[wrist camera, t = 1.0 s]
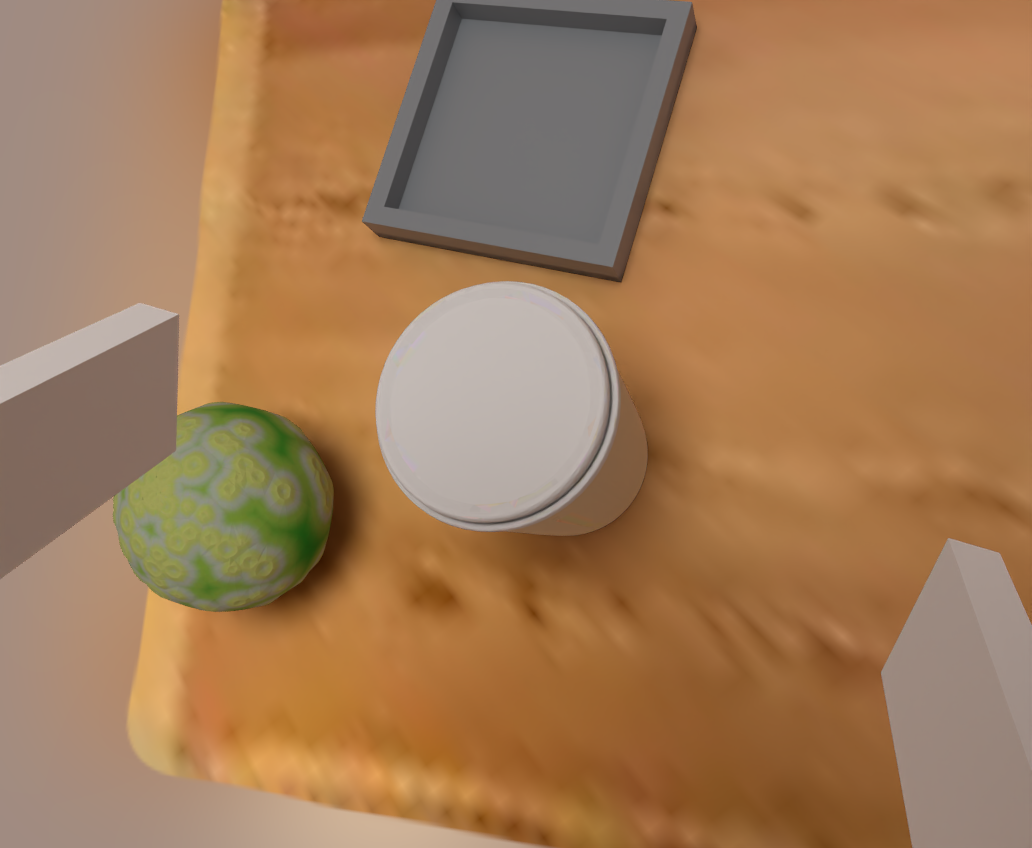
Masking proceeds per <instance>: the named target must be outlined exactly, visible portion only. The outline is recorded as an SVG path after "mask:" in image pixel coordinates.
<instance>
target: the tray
mask: <svg viewBox="0 0 1032 848" xmlns="http://www.w3.org/2000/svg"><path fill="white" fill-rule="evenodd" d="M696 28H697V26H696V21H695V15H694V10H693V4H692V2H683V1H668V0H436V3H435V6H434V9H433V12H432V15H431V18H430V21H429V24H428V27H427V30H426V33H425V36H424V39H423V42H422V45H421V48H420V50H419V53H418V56H417V59H416V62H415V65H414V68H413V71H412V74H411V77H410V80H409V83H408V86H407V89H406V92H405V95H404V98H403V101H402V104H401V107H400V110H399V113H398V116H397V119H396V122H395V125H394V128H393V131H392V134H391V137H390V140H389V142H388V145H387V148H386V151H385V154H384V157H383V160H382V163H381V166H380V169H379V172H378V175H377V178H376V181H375V184H374V187H373V190H372V193H371V196H370V199H369V202H368V205H367V208H366V211H365V214H364V217H363V220H362V222H363V223H364V224H365V225H367V226H368V227H369V228H370V229H371V230H372V231H373V232H374V233H375V234H377V235H378V236H379V237H384V238H389V239H394V240H400V241H405V242H410V243H415V244H421V245H426V246H431V247H437V248H442V249H447V250H453V251H458V252H463V253H468V254H474V255H479V256H484V257H490V258H495V259H500V260H506V261H511V262H516V263H521V264H527V265H532V266H537V267H543V268H548V269H553V270H559V271H564V272H569V273H574V274H580V275H585V276H590V277H596V278H601V279H606V280H612V281H617V282H621V281H622V277H623V274H624V271H625V267H626V264H627V260H628V257H629V254H630V250H631V247H632V244H633V240H634V237H635V234H636V230H637V227H638V223H639V220H640V217H641V213H642V210H643V207H644V203H645V200H646V197H647V193H648V190H649V186H650V183H651V180H652V176H653V173H654V170H655V166H656V163H657V160H658V156H659V153H660V150H661V146H662V143H663V139H664V136H665V133H666V129H667V126H668V123H669V119H670V116H671V113H672V109H673V106H674V102H675V99H676V96H677V92H678V89H679V86H680V82H681V79H682V76H683V72H684V69H685V65H686V62H687V59H688V55H689V52H690V49H691V45H692V42H693V39H694V35H695V32H696Z"/></svg>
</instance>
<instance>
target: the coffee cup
mask: <svg viewBox="0 0 1032 848" xmlns="http://www.w3.org/2000/svg"><path fill="white" fill-rule="evenodd" d="M376 425H377V433H378V439H379V445H380V448H381V452H382V455H383V458H384V460H385V463H386V465H387V468H388V470H389V471H390V473H391V475H392V477H393V479H394V480H395V482H396V483H397V485H398V486H399V487H400V489H401V490H402V491H403V492H404V493H405V495H406V496H407V497H408V498H409V499H410V500H411V501H412V502H413V503H414V504H416V505H417V506H418V507H419V508H421V509H422V510H423V511H425V512H426V513H427V514H429V515H431V516H432V517H434V518H436V519H438V520H440V521H442V522H444V523H447V524H449V525H451V526H455V527H458V528H462V529H466V530H472V531H480V532H500V531H507V532H517V533H528V534H540V535H552V536H572V535H581V534H585V533H589V532H592V531H595V530H598V529H600V528H602V527H604V526H606V525H608V524H609V523H611V522H612V521H614V520H615V519H616V518H618V517H619V516H620V515H621V514H622V513H623V512H624V511H625V510H626V509H627V508H628V507H629V506H630V504H631V503H632V501H633V500H634V499H635V497H636V495H637V494H638V492H639V490H640V488H641V485H642V483H643V480H644V477H645V473H646V468H647V460H648V447H647V440H646V434H645V431H644V427H643V424H642V422H641V419H640V417H639V414H638V412H637V410H636V408H635V405H634V403H633V401H632V399H631V397H630V395H629V393H628V391H627V388H626V386H625V384H624V382H623V380H622V378H621V376H620V374H619V372H618V370H617V367H616V363H615V360H614V357H613V355H612V352H611V349H610V347H609V345H608V343H607V341H606V339H605V337H604V336H603V334H602V333H601V331H600V330H599V328H598V327H597V325H596V324H595V323H594V322H593V321H592V319H591V318H590V317H589V316H588V315H587V314H586V313H585V312H584V311H583V310H582V309H581V308H579V307H578V306H577V305H575V304H574V303H573V302H571V301H570V300H569V299H567V298H565V297H564V296H562V295H560V294H558V293H556V292H554V291H552V290H549V289H547V288H544V287H541V286H537V285H534V284H529V283H523V282H510V281H504V282H491V283H485V284H480V285H475V286H471V287H468V288H465V289H462V290H459V291H456V292H454V293H451V294H449V295H448V296H446V297H444V298H442V299H440V300H439V301H437V302H435V303H434V304H432V305H431V306H429V307H428V308H427V309H426V310H424V311H423V312H422V313H421V314H420V315H419V316H418V317H416V318H415V319H414V320H413V321H412V322H411V323H410V325H409V326H408V327H407V328H406V329H405V330H404V332H403V333H402V334H401V336H400V337H399V339H398V340H397V341H396V343H395V345H394V347H393V348H392V350H391V352H390V354H389V356H388V358H387V360H386V362H385V365H384V368H383V371H382V374H381V377H380V381H379V385H378V390H377V397H376Z"/></svg>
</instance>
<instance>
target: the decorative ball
mask: <svg viewBox="0 0 1032 848" xmlns="http://www.w3.org/2000/svg"><path fill="white" fill-rule="evenodd" d="M333 497H334V488H333V483H332V480H331V478H330V476H329V474H328V472H327V470H326V467H325V465H324V463H323V462H322V460H321V458H320V456H319V455H318V453H317V451H316V450H315V448H314V446H313V445H312V444H311V442H310V441H309V440H308V438H307V437H306V436H305V434H304V433H303V432H302V430H301V429H300V428H299V427H298V426H297V425H295V424H294V423H292V422H291V421H290V420H288V419H287V418H285V417H283V416H280V415H277V414H274V413H271V412H268V411H265V410H261V409H257V408H252V407H248V406H244V405H239V404H233V403H227V402H214V403H208V404H205V405H203V406H200V407H198V408H195V409H192V410H190V411H187V412H185V413H182V414H180V415H178V416H177V434H176V451H175V452H174V453H172V454H171V455H169V456H168V457H167V458H165V459H164V460H163V461H161V462H160V463H159V464H157V465H156V466H154V467H153V468H152V469H150V470H149V471H148V472H146V473H145V474H143V475H142V476H141V477H139V478H138V479H137V480H135V481H134V482H133V483H131V484H130V485H128V486H127V487H126V488H124V489H123V490H122V491H120V492H119V493H117V494H116V495H115V496H114V500H113V501H114V504H113V508H114V512H113V521H114V523H115V526H116V528H117V531H118V536H119V543H120V547H121V549H122V552H123V554H124V555H125V557H126V558H127V559H128V562H129V564H130V566H131V568H132V569H133V571H134V573H135V574H136V576H137V577H138V578H139V579H140V580H141V581H142V582H144V583H145V584H147V585H148V587H149V588H150V589H151V590H152V591H153V592H155V593H156V594H157V595H159V596H160V597H162V598H165V599H168V600H170V601H173V602H176V603H179V604H182V605H185V606H188V607H192V608H196V609H200V610H205V611H213V612H222V611H235V610H243V609H248V608H253V607H259V606H264V605H268V604H270V603H271V602H273V601H274V600H276V599H277V598H278V597H280V596H281V595H282V594H284V593H285V592H287V591H288V590H290V589H292V588H293V587H295V586H296V585H298V584H300V583H301V582H302V581H303V580H304V578H305V577H306V576H307V574H308V573H309V571H310V570H311V569H312V568H313V567H314V566H315V565H316V564H317V563H318V562H319V560H320V558H321V557H322V555H323V552H324V549H325V545H326V542H327V539H328V535H329V530H330V525H331V519H332V512H333Z"/></svg>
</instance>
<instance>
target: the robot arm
mask: <svg viewBox="0 0 1032 848" xmlns="http://www.w3.org/2000/svg"><path fill="white" fill-rule="evenodd" d="M178 338H179V314H177V313H173V312H169V311H166V310H163V309H159V308H156V307H153V306H149V305H146V304H142V303H138V304H136V305H134V306H132V307H129V308H127V309H125V310H123V311H121V312H119V313H116V314H114V315H111V316H109V317H107V318H105V319H103V320H100V321H98V322H96V323H94V324H92V325H90V326H87V327H85V328H83V329H80V330H78V331H76V332H74V333H72V334H69V335H67V336H65V337H63V338H60V339H58V340H56V341H54V342H52V343H49V344H47V345H45V346H43V347H41V348H39V349H36V350H34V351H32V352H29V353H27V354H25V355H23V356H21V357H18V358H16V359H14V360H12V361H10V362H7V363H5V364H3V365H1V366H0V579H1V578H2V577H4V576H5V575H6V574H8V573H9V572H11V571H12V570H13V569H15V568H16V567H18V566H19V565H20V564H22V563H23V562H24V561H26V560H27V559H29V558H30V557H31V556H33V555H34V554H35V553H37V552H38V551H39V550H41V549H42V548H43V547H45V546H46V545H48V544H49V543H50V542H52V541H53V540H55V539H56V538H57V537H58V536H60V535H61V534H63V533H64V532H65V531H67V530H68V529H70V528H71V527H72V526H74V525H75V524H76V523H78V522H79V521H80V520H82V519H83V518H85V517H86V516H87V515H89V514H90V513H91V512H93V511H94V510H96V509H97V508H98V507H100V506H101V505H102V504H104V503H105V502H107V501H108V500H109V499H111V498H112V497H113V496H115V495H116V494H117V493H119V492H120V491H122V490H123V489H124V488H126V487H127V486H128V485H130V484H131V483H133V482H134V481H135V480H137V479H138V478H139V477H141V476H142V475H143V474H145V473H146V472H148V471H149V470H150V469H152V468H153V467H154V466H156V465H157V464H159V463H160V462H161V461H163V460H164V459H165V458H167V457H168V456H169V455H171V454H172V453H174V452H175V451H176V434H177V387H178ZM881 676H882V681H883V687H884V692H885V698H886V704H887V709H888V715H889V720H890V726H891V731H892V737H893V743H894V748H895V754H896V759H897V765H898V770H899V776H900V781H901V787H902V793H903V798H904V804H905V809H906V815H907V820H908V826H909V831H910V837H911V843H912V848H1032V625H1031V622H1030V620H1029V618H1028V616H1027V613H1026V611H1025V609H1024V607H1023V604H1022V602H1021V600H1020V598H1019V595H1018V593H1017V591H1016V589H1015V586H1014V584H1013V582H1012V580H1011V577H1010V575H1009V573H1008V571H1007V568H1006V566H1005V564H1004V562H1003V559H1002V557H1001V555H1000V553H998V552H995V551H991V550H988V549H985V548H981V547H978V546H974V545H971V544H967V543H964V542H961V541H957V540H954V539H950V538H948V540H947V542H946V544H945V546H944V548H943V550H942V552H941V554H940V556H939V558H938V560H937V561H936V563H935V565H934V567H933V569H932V571H931V573H930V575H929V577H928V579H927V581H926V583H925V585H924V587H923V589H922V591H921V593H920V595H919V597H918V599H917V601H916V603H915V605H914V607H913V609H912V611H911V613H910V615H909V617H908V619H907V621H906V623H905V625H904V627H903V629H902V631H901V633H900V635H899V637H898V639H897V641H896V643H895V645H894V647H893V649H892V651H891V653H890V655H889V657H888V659H887V661H886V663H885V665H884V667H883V669H882V671H881Z"/></svg>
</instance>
